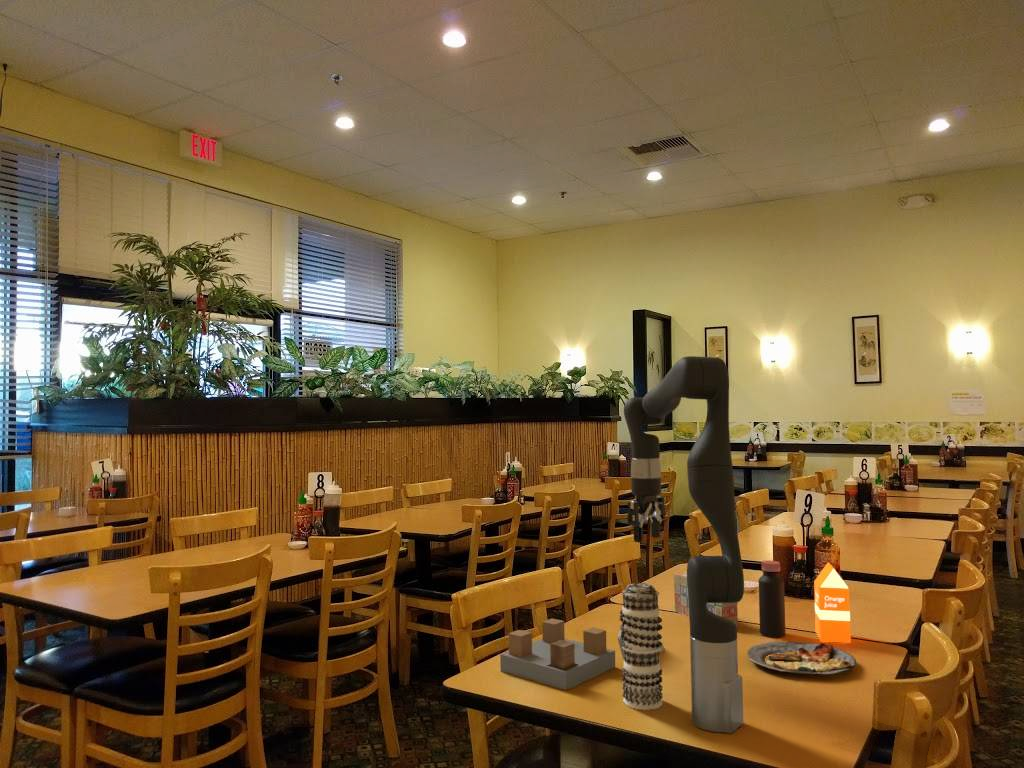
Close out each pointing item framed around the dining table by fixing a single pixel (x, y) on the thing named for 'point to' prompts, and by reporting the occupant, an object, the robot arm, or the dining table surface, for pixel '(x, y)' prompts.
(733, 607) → the printed cardboard box
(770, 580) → the bottle
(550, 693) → the dining table surface
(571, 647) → the stool leg
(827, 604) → the orange juice
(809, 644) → the food plate
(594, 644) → the stool seat
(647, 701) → the decorative candle
